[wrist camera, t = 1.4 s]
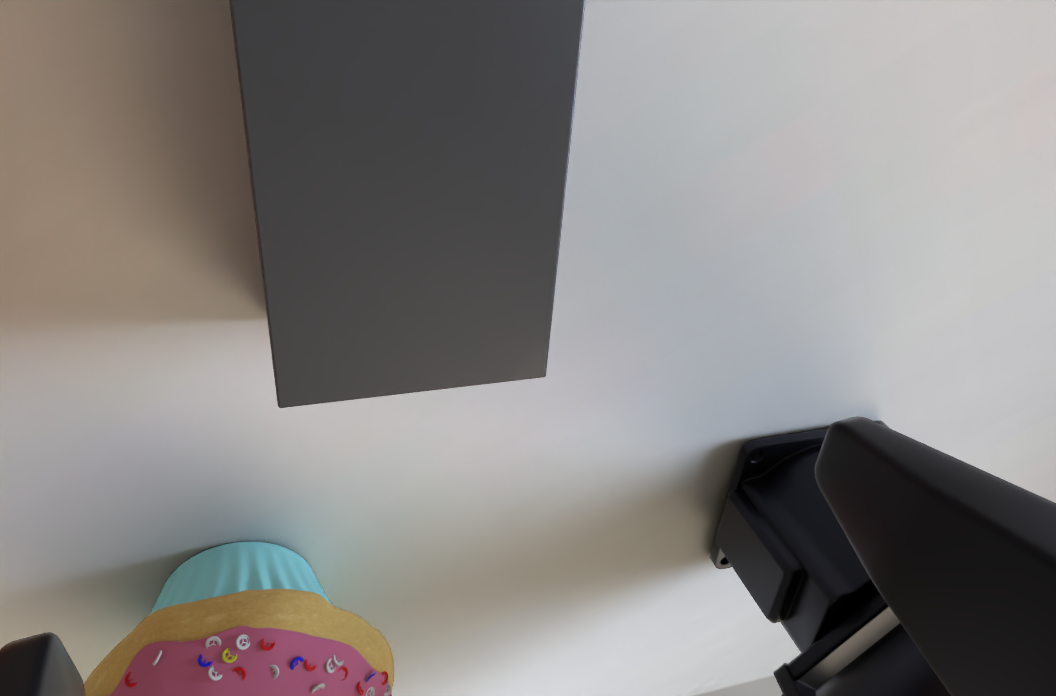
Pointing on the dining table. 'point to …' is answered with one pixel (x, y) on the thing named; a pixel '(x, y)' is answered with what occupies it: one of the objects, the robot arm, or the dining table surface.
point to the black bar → (407, 187)
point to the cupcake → (246, 634)
